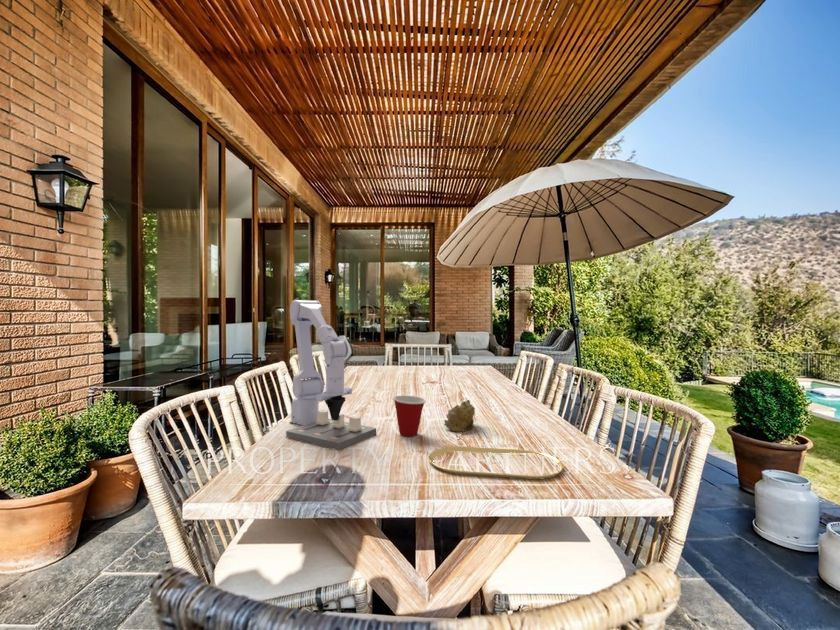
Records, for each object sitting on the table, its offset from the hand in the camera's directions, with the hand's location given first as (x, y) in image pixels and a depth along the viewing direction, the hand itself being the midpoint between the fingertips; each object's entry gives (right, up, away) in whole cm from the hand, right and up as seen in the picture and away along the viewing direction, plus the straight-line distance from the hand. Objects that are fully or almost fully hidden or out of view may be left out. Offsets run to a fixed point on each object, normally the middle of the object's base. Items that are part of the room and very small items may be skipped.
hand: (334, 419), depth 133 cm
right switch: (+7, -3, -2) cm, 8 cm away
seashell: (+42, -6, +11) cm, 43 cm away
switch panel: (-1, -5, -1) cm, 5 cm away
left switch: (-5, -3, +5) cm, 8 cm away
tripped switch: (+1, -3, +2) cm, 3 cm away
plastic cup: (+24, -5, +2) cm, 25 cm away
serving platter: (+47, -6, -24) cm, 53 cm away
